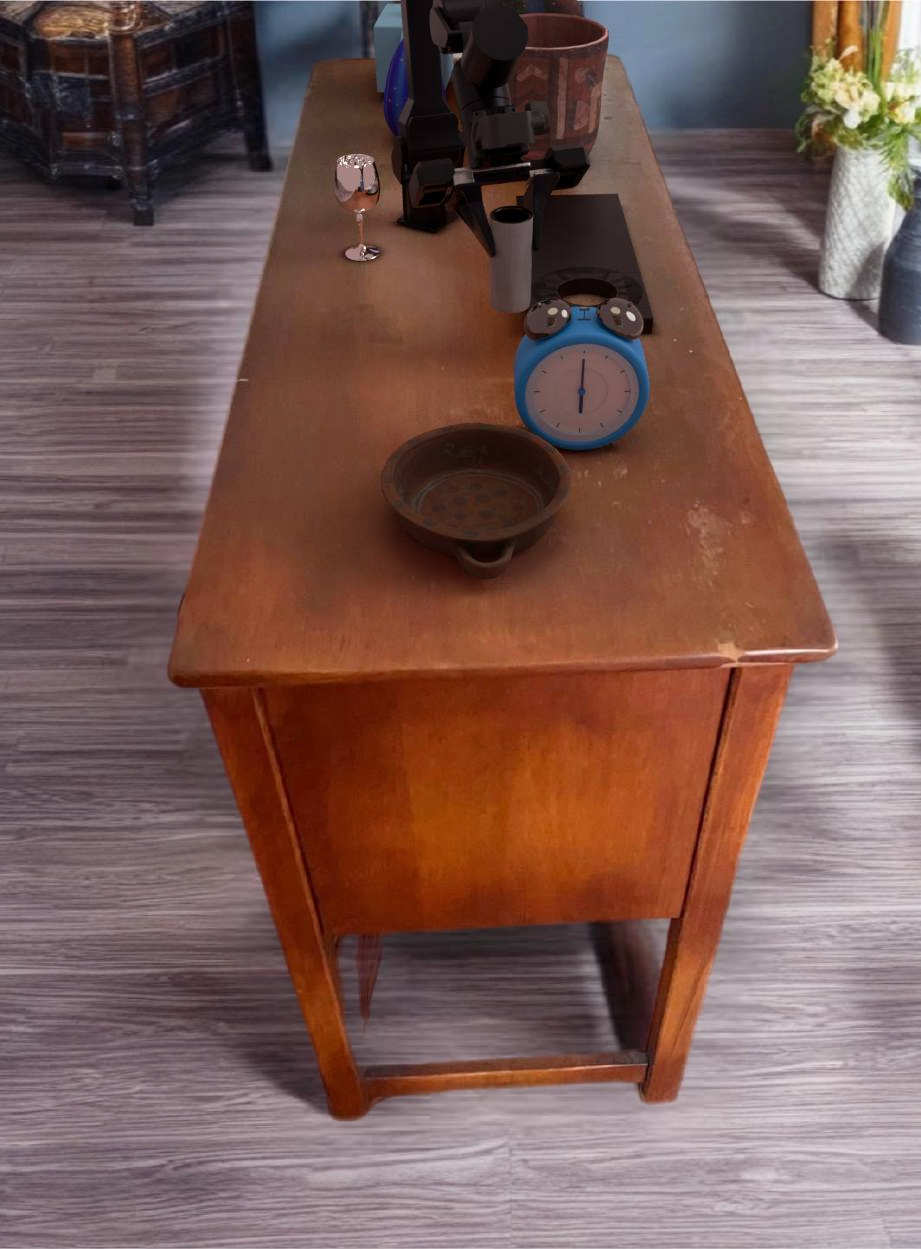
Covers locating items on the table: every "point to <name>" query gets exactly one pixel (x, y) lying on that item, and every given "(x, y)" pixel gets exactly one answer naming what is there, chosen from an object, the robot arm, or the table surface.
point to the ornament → (397, 89)
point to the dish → (476, 491)
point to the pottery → (562, 78)
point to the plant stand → (587, 253)
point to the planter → (511, 259)
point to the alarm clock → (581, 373)
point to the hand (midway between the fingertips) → (514, 253)
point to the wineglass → (357, 195)
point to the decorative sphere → (545, 6)
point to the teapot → (396, 45)
